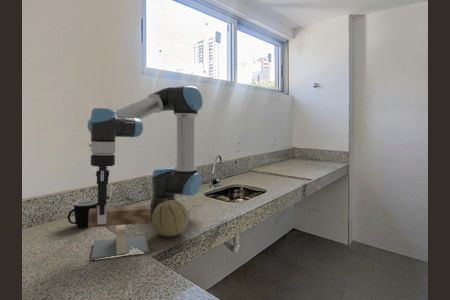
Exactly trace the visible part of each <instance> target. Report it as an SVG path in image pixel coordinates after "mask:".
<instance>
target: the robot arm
mask: <svg viewBox="0 0 450 300" xmlns="http://www.w3.org/2000/svg"><path fill="white" fill-rule="evenodd" d="M201 93H202V92H200V90H199V89H198V88H197V87H196V86H194V85H183V86H169V87H166V88H162V89H159V90H157V91H155V92H153V93H150V94H149V95H148V96H147V97H146V98H144V99H141V100H139V101H136V102H133V103H132V104H129V105H126V106H124V107H122V108H119V109H117V110H115V109H112V108H104V107H102V108H101V107H96V108H93V109H92V110H91V116H90V119H88V121H87V126H86V127H87V129H88V132H89V133H90V143H89V145H88V147H90V153H91V155H90V165H91V166H92V167H98V170H96V172H95V174H96V175H95V176H96V184H97V204H95V206H97V208H98V216H97V224H106V211H107V208H108V200H109V199H110V197H109V196H108V190H107V189H108V184H109V177H110V170H109V169H108V167H113V166H115V164H116V155H115V153H116V138H118V137H119V138H137V137H140V136H141V135H142V133H143V132H144V131H143V130H144V124H143V122H142V119H144V118H146V117H148V116H151V115H152V114H159V113H161V112H167V111H173V115H174V116H175V117H176V166H175V167H174V166H173V167H163V168H162V167H161V168H156V169H154V170H153V172H152V198H151V199H150V204H149V206H150V208H151V215H152V214H153V211H154V209H155V208H156V207H157V206H158V205H159V204H160V203H162V202H164V201H163V199H166V200H176V201H177V199H176V195H179V196H181V195H182V196H183V197H194V196H196V195H197V194H198V193H199V191H200V189H201V186H202V183H203V182H202V181H203V178H202V175H201V174H200V173H198V168H197V166H196V165H195V118H196V116H198V111H200V110H201V109H202V106H203V97H202V94H201Z"/></svg>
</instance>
